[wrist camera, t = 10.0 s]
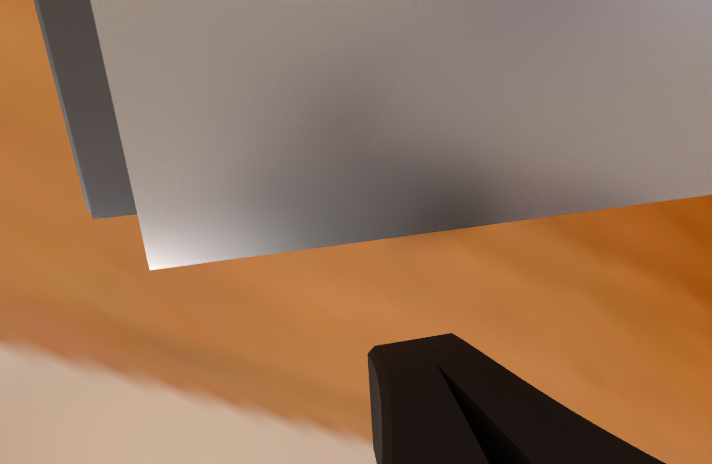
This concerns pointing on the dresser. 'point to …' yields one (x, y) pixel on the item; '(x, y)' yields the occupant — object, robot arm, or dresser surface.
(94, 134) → the base plate
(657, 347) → the dresser surface
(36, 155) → the dresser surface
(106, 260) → the dresser surface
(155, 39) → the block
